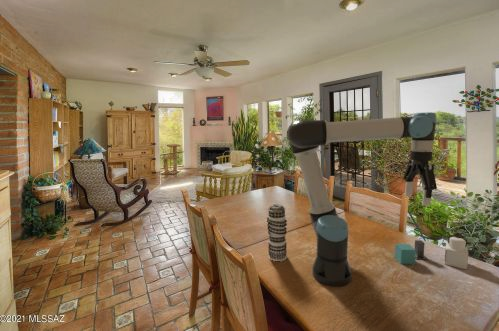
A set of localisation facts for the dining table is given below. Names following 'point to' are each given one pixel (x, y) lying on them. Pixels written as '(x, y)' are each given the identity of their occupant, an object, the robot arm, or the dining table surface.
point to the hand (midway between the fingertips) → (416, 200)
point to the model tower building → (277, 233)
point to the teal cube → (405, 253)
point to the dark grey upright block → (419, 250)
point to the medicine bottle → (456, 252)
